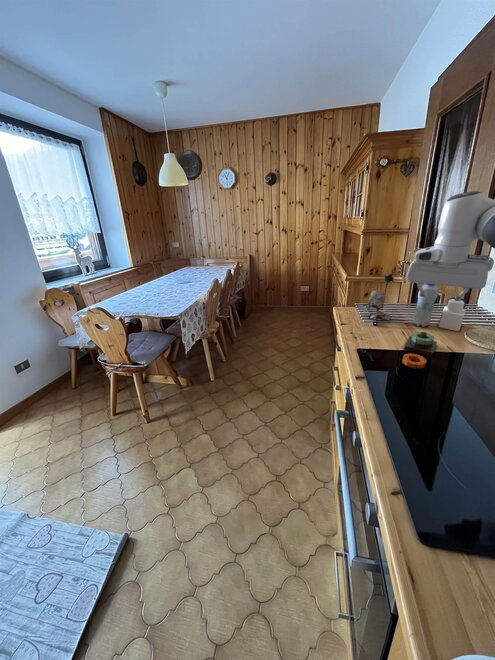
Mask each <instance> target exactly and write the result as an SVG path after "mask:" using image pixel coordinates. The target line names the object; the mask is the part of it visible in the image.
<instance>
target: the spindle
mask: <svg viewBox="0 0 495 660" xmlns="http://www.w3.org/2000/svg"><path fill="white" fill-rule="evenodd" d="M420 332H421V333H420V337H419V338H423V339H426V336H427V333H428V332H426V331H420ZM411 337H412V335H409V337H408V339H407V341H406V343H405V345H404V348H403V350H405V351H409V352H414V353H417V354H420V355H425V356H430V357H433V356H434V354H435V350H436V347H437V343H438V341H435V340H434V341H433V344H432V347H431V348H427V349H424V348H423V349H422V348H418V347H416V346H413V345H412V344H411V343H410V341H411Z"/></svg>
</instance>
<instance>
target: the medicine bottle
mask: <svg viewBox="0 0 495 660" xmlns="http://www.w3.org/2000/svg"><path fill="white" fill-rule="evenodd" d="M455 297H456V296H454V297H449V298H448V299H447V302H446V305H445V306H444V307H443V309H442V312H441V316H440V318H439V324H438V328H440V329H444V330H445V329H446V330H450V331H455V332H460V330H461V326H462V324H463V320H464V317H465V315H466V311H467V310H466V305H467V300H466V299H464V298H461V301H455Z"/></svg>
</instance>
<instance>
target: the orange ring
mask: <svg viewBox="0 0 495 660" xmlns="http://www.w3.org/2000/svg"><path fill="white" fill-rule="evenodd" d="M401 362H402V364H403V365H405V367H408V368H412V369H417V370H418V369H419V370H420V369H424V368H425V367H426V365H427V362H428V361H427V359H426V358H425V357H424V356H423V355H421V354H418V353H417V354H416V353H405V354H404V355H403V357H402V360H401Z"/></svg>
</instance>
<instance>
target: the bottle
mask: <svg viewBox="0 0 495 660" xmlns="http://www.w3.org/2000/svg"><path fill="white" fill-rule="evenodd" d="M422 287H423V290H426V294H425V297H422V296H419V295H420V290H419V289H418V294H417V302H416V307H415V311H414V313H413V317H412V323H413V325H415V326H417V327H420V326H421V327H422V328H424V327H428V326H429V325H430V323H431V320H432V314H433V310H434V306H435V302H436V300H437V299H438V298H437V297H438V296H439V287H438V285H435V284H425V283H424V284H423V286H422Z"/></svg>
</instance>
